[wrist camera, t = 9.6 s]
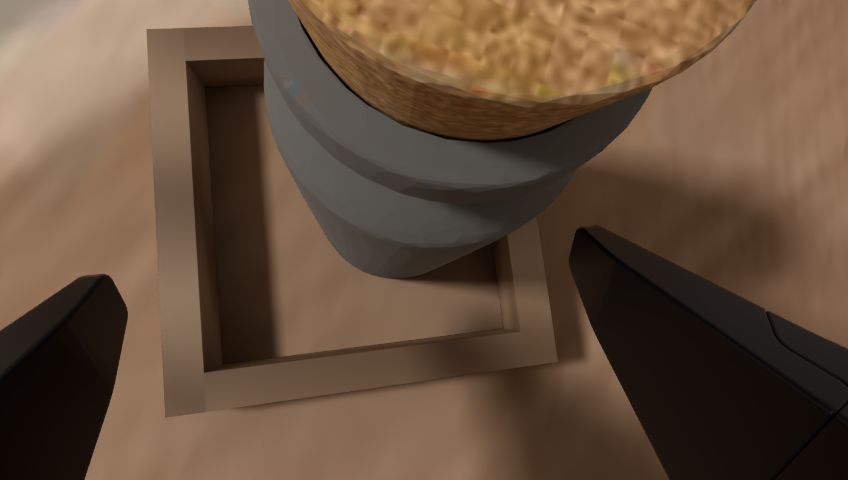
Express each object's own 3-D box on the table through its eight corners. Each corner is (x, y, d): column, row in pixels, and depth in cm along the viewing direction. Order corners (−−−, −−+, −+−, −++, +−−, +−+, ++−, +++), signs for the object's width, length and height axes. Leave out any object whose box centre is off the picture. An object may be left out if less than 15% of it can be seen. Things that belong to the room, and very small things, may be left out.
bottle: (380, 105, 19) (439, -614, 4) (496, 192, 19) (964, -194, 4) (287, 219, 18) (-88, -188, 3) (411, 310, 18) (637, 352, 3)
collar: (537, 355, 18) (558, 361, 16) (189, 403, 16) (165, 417, 14) (493, 46, 20) (508, 17, 18) (170, 59, 18) (146, 29, 16)
